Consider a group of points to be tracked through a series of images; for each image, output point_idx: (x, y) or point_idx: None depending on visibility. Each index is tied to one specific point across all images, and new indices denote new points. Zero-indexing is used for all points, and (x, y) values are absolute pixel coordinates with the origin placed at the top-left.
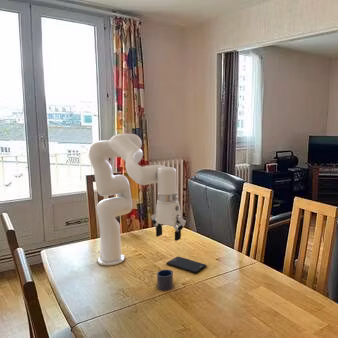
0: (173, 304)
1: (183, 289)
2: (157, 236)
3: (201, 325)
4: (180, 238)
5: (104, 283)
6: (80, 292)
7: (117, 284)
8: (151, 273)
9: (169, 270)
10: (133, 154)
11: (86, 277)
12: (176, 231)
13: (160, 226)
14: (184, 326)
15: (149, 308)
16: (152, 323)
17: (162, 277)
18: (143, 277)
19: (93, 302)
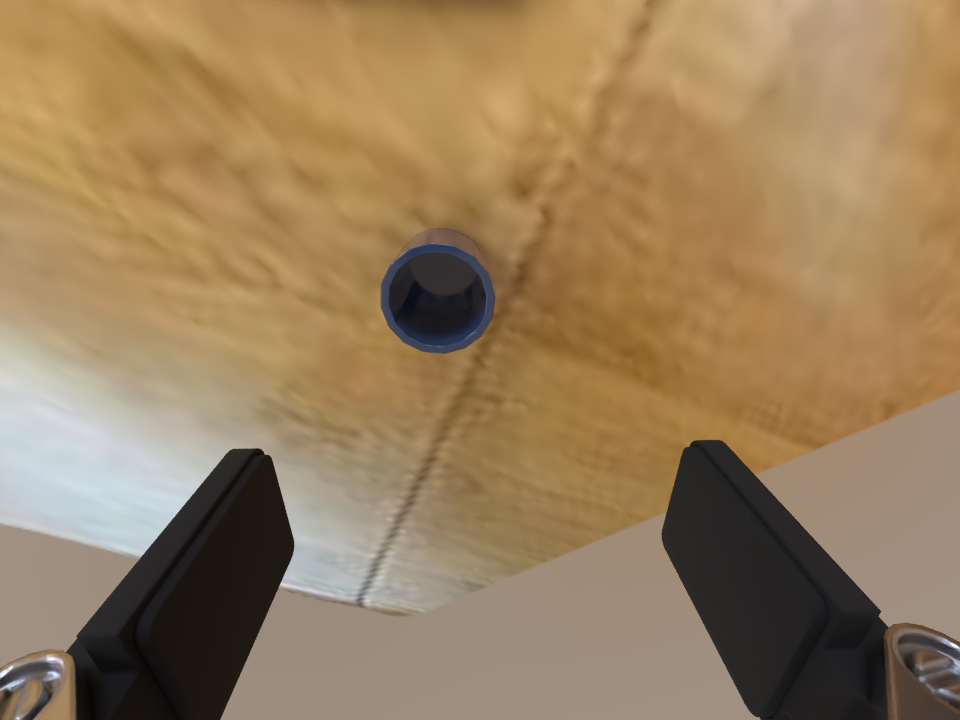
0: (586, 385)
1: (558, 248)
2: (287, 546)
3: (761, 435)
4: (716, 442)
5: (146, 415)
6: (155, 508)
7: (208, 390)
8: (235, 184)
9: (437, 251)
10: None
11: (4, 421)
12: (805, 717)
13: (152, 668)
14: None
15: (509, 452)
16: (580, 504)
17: (459, 348)
18: (245, 259)
19: None
